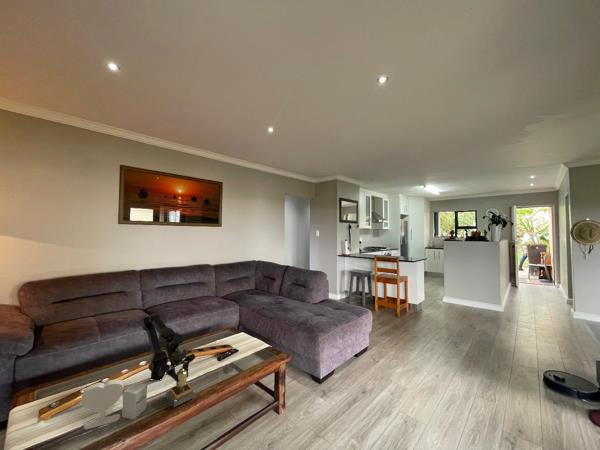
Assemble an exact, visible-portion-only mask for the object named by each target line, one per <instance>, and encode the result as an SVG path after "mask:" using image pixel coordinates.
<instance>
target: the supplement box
mask: <svg viewBox="0 0 600 450" xmlns="http://www.w3.org/2000/svg"><path fill="white" fill-rule="evenodd" d="M147 395H148V384H146V383H141V382H134V383H133V384H131V385H130V386H129V387H128V388H126V389H125V390H123V392H122V410H121V411H122V412H121V413H122V414H121V417H122V418H124V419H125V418H127V419H129V420H135V419H137V417H139V416H140V415H141V414H142V413H143V412H144V411H145V410H147V399H148V398H147V397H148V396H147Z"/></svg>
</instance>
